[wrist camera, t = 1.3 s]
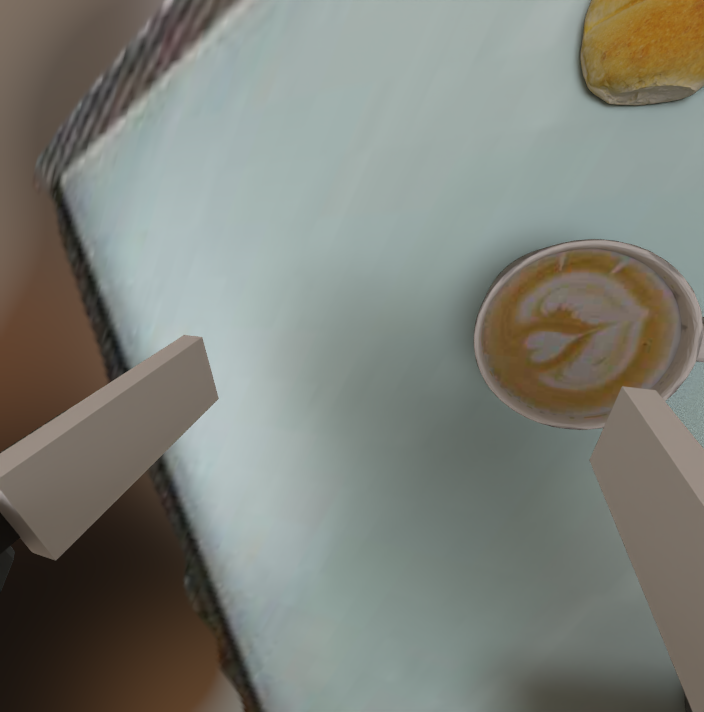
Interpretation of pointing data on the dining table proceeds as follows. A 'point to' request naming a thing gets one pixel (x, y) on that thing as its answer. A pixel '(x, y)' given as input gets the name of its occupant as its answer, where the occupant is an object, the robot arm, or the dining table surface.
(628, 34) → the bread roll
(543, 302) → the coffee mug
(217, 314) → the dining table surface
